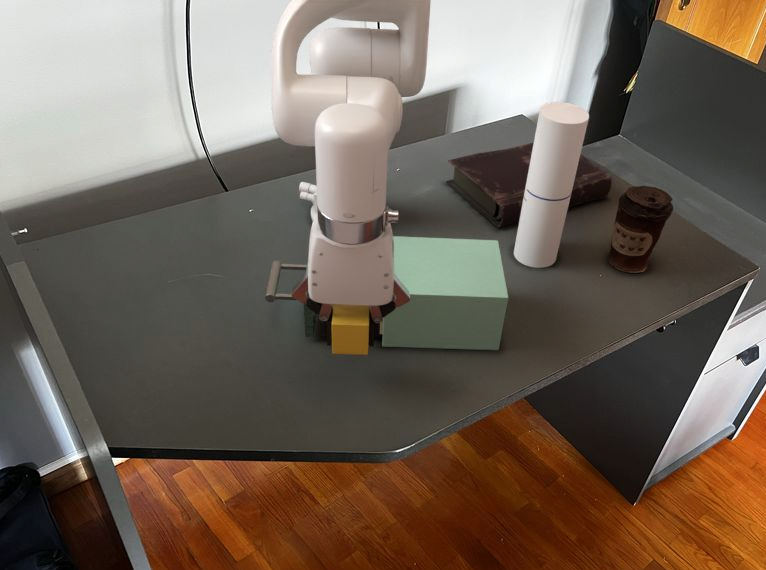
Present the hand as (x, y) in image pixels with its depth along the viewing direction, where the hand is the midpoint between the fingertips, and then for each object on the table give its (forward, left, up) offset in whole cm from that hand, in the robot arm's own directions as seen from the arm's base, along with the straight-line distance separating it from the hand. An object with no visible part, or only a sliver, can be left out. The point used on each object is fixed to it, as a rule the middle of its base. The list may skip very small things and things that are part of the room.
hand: (351, 337), depth 95 cm
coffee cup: (+32, +43, -7) cm, 54 cm away
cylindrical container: (+17, +39, -7) cm, 43 cm away
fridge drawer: (-6, +12, -6) cm, 15 cm away
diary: (+11, +59, -7) cm, 60 cm away
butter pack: (0, 0, 0) cm, 0 cm away
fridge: (+7, +17, -7) cm, 19 cm away
